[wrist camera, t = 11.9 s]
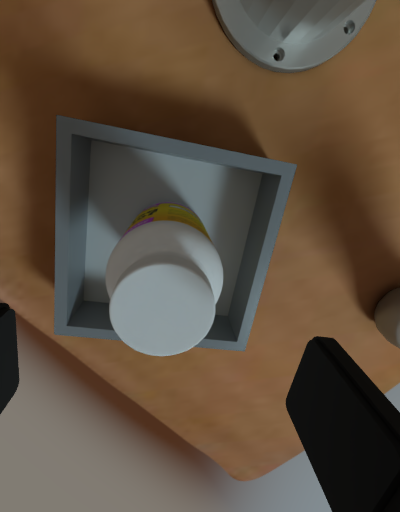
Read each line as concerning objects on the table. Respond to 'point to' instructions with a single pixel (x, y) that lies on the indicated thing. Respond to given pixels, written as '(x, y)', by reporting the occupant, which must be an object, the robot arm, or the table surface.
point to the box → (151, 192)
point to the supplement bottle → (164, 281)
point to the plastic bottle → (389, 317)
